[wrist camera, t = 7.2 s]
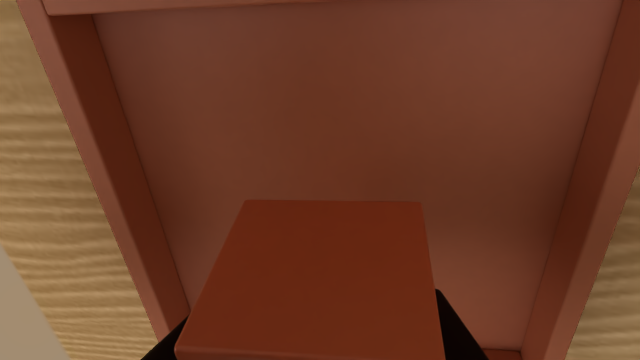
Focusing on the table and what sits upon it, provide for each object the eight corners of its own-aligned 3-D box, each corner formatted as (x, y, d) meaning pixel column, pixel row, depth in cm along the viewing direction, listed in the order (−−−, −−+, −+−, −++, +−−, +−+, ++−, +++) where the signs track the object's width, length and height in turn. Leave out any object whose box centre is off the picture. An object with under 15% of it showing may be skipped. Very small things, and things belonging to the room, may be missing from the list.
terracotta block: (267, 315, 12) (221, 477, 8) (243, 197, 10) (170, 349, 6) (412, 323, 11) (427, 499, 8) (422, 199, 9) (447, 368, 6)
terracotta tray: (191, 329, 17) (171, 374, 15) (69, -24, 10) (8, -13, 9) (530, 349, 15) (548, 402, 14) (658, -63, 8) (728, -59, 7)
